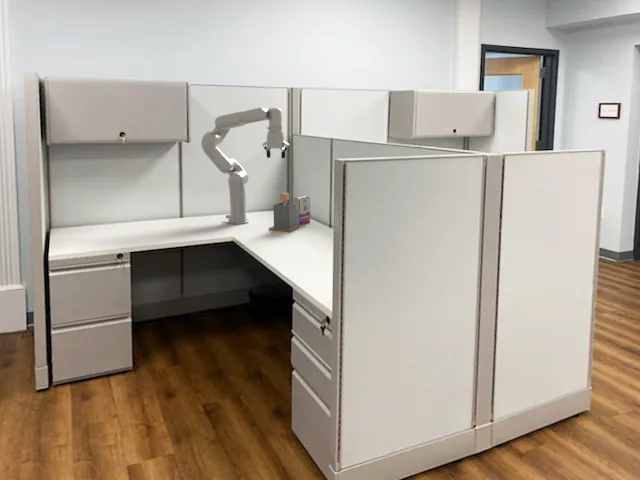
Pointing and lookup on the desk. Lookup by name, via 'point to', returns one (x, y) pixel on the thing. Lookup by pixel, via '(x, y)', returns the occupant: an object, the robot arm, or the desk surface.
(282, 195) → the plunger
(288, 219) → the press housing
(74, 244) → the desk surface
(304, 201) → the candy bar box
